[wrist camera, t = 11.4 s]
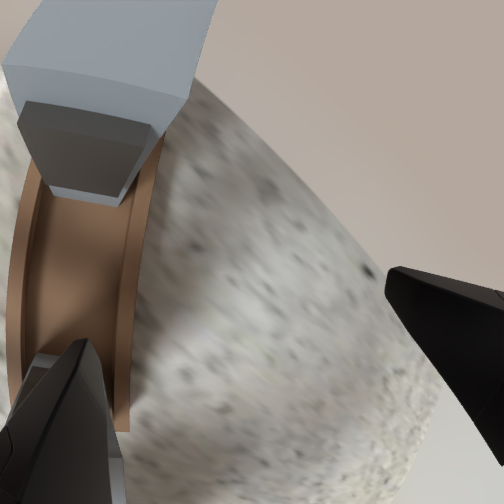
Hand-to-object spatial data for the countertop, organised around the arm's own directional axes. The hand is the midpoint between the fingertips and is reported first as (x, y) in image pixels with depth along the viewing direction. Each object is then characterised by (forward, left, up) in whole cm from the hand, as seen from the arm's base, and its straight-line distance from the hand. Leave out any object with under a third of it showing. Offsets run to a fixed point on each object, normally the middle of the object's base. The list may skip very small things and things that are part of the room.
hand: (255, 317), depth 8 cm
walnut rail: (+2, +5, -12) cm, 13 cm away
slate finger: (+7, +4, -11) cm, 14 cm away
